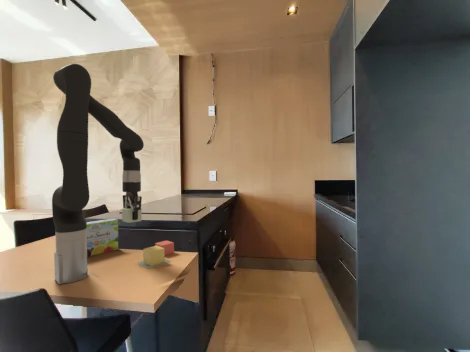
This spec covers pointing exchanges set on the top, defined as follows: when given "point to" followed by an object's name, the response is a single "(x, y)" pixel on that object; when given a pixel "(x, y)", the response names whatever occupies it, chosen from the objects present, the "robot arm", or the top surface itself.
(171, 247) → the brick red
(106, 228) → the snack box
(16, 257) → the top surface
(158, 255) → the brick mustard
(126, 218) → the brick sage
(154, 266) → the baseplate
